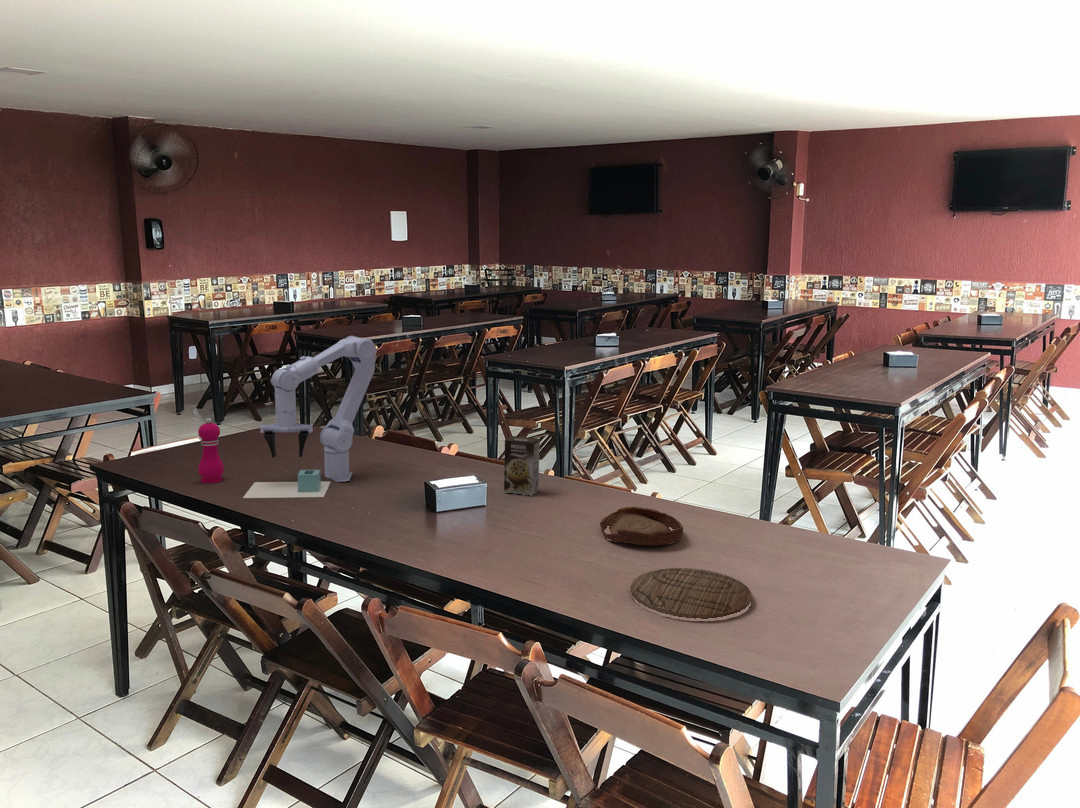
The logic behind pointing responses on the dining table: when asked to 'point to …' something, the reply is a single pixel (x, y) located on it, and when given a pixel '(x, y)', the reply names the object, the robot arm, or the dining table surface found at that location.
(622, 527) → the basket
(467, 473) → the dining table surface
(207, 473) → the pepper mill
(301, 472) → the teal square tube
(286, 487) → the key plate
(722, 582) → the trivet
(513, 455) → the brown cardboard box
